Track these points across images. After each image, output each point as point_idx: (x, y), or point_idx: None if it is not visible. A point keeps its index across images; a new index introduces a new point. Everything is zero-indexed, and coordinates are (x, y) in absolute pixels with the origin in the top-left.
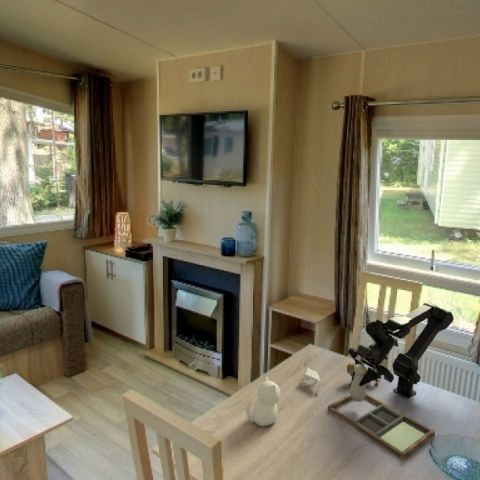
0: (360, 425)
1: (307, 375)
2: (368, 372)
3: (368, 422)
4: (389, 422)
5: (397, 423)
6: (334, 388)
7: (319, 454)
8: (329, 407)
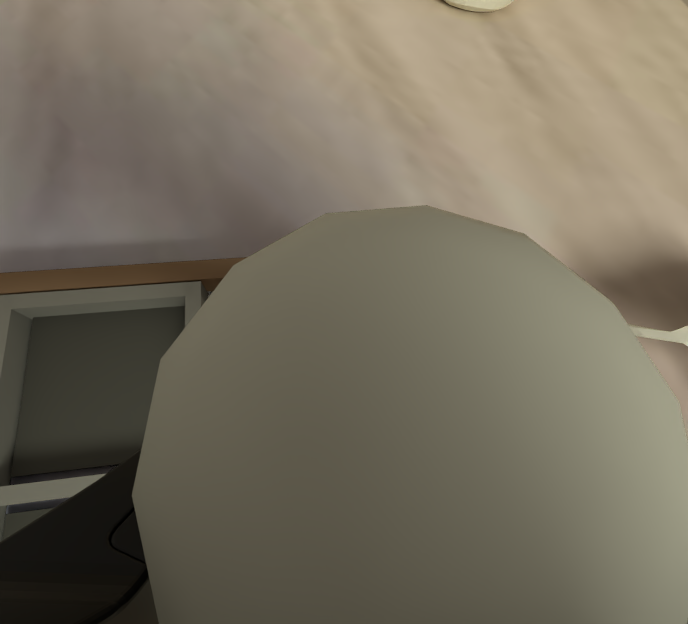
0: (136, 282)
1: None
2: (36, 598)
3: (149, 397)
4: None
5: None
6: None
7: (162, 11)
8: None
